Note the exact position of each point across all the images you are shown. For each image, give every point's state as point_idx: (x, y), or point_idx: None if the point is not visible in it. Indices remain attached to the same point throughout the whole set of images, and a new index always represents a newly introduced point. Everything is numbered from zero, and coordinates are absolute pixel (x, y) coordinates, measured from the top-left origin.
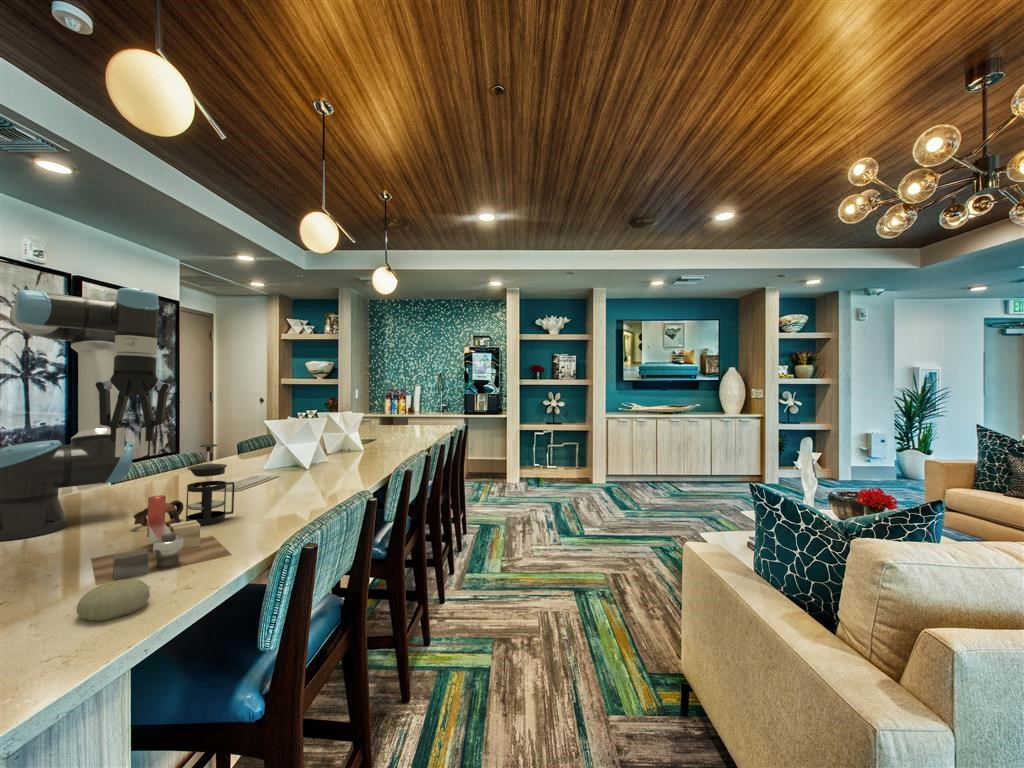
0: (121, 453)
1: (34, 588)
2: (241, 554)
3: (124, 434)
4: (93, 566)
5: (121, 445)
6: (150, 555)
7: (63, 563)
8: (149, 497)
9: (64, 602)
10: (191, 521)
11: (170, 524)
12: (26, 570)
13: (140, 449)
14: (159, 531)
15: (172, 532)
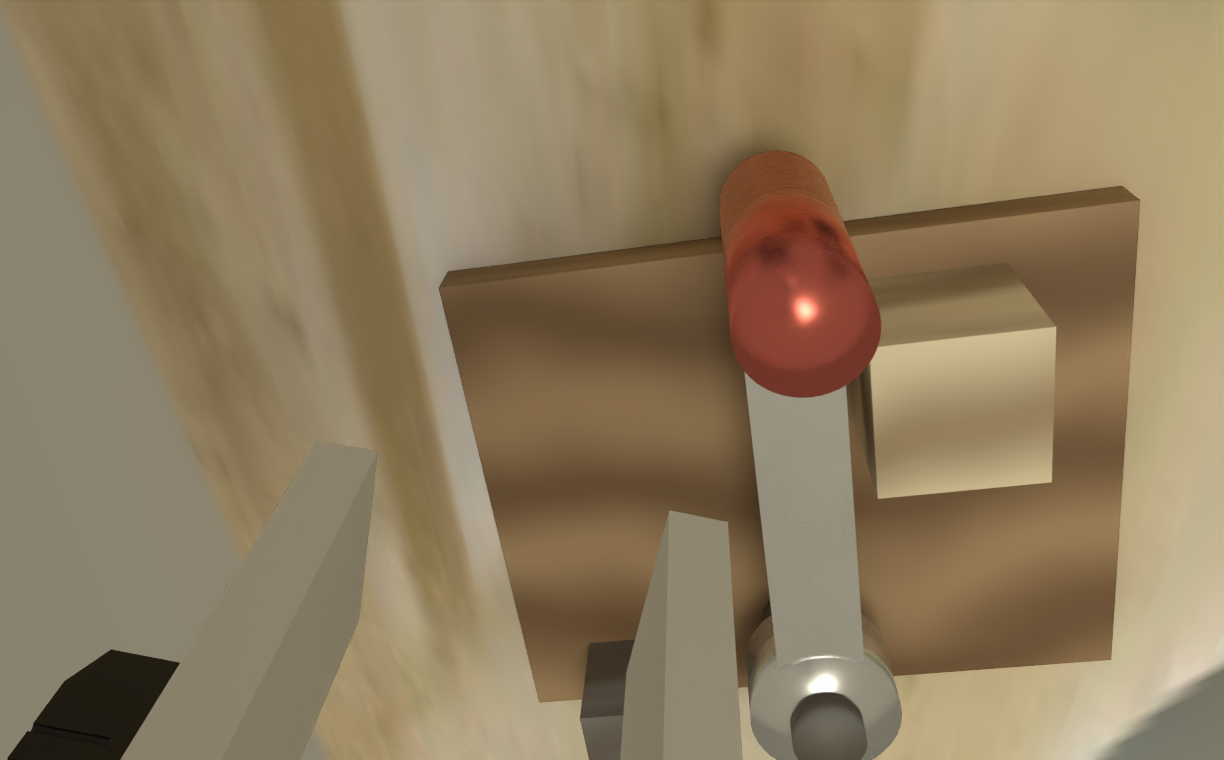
0: (353, 575)
1: (290, 483)
2: (1179, 549)
3: (226, 749)
4: (481, 449)
5: (306, 699)
6: (738, 426)
7: (289, 129)
8: (740, 320)
9: (455, 702)
10: (1018, 355)
11: (872, 359)
12: (136, 155)
13: (622, 755)
14: (792, 495)
15: (870, 439)
